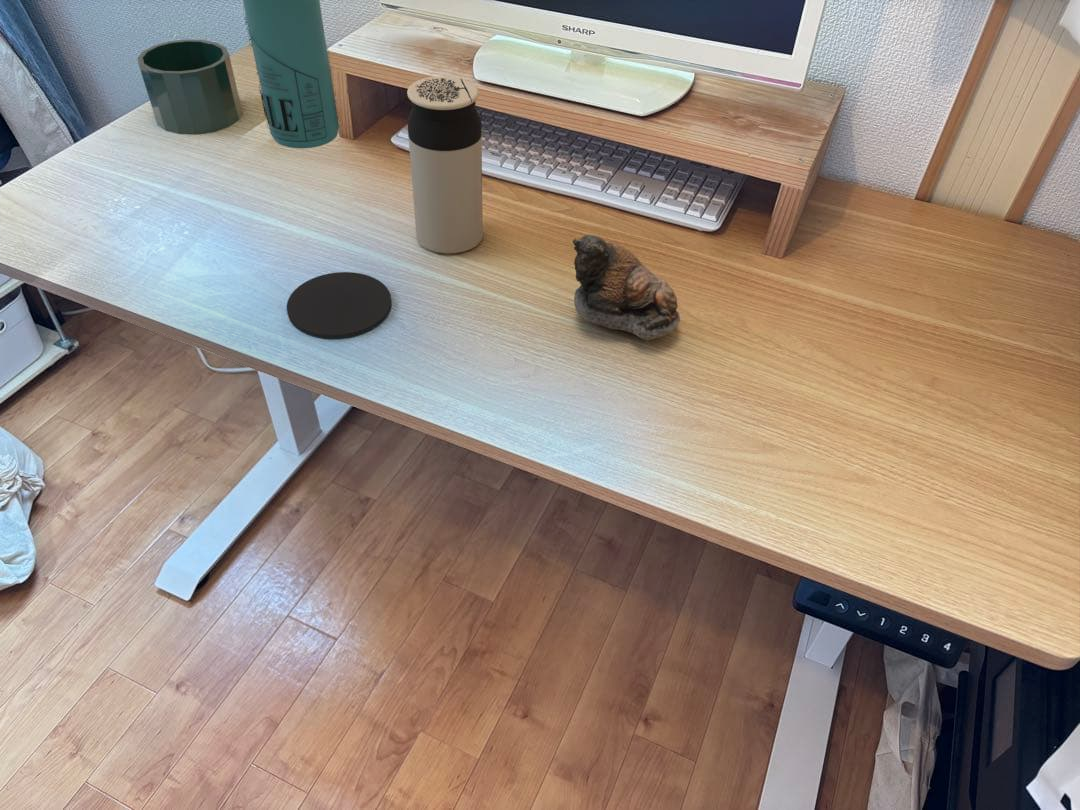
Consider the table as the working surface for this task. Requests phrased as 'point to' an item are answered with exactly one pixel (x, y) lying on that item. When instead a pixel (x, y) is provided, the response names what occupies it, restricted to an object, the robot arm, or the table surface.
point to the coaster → (339, 305)
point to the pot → (190, 86)
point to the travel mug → (446, 163)
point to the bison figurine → (621, 291)
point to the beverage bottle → (293, 71)
